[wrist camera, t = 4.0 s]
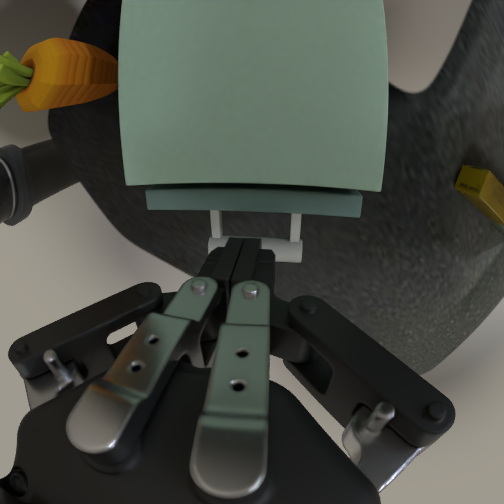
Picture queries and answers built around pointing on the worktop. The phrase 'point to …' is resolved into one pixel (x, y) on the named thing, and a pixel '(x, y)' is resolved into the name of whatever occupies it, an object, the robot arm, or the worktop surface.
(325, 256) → the worktop surface
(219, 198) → the green drawer
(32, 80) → the carrot
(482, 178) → the medication box
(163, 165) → the green drawer housing
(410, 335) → the worktop surface
